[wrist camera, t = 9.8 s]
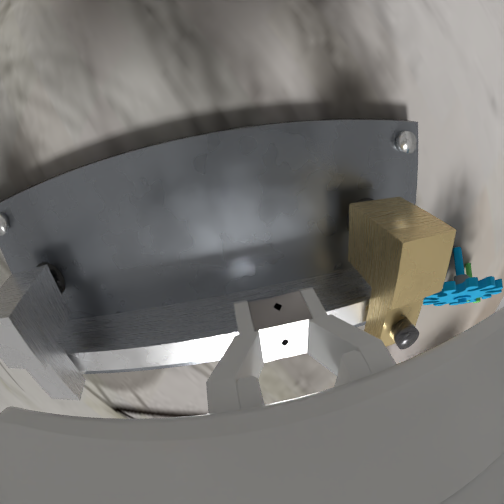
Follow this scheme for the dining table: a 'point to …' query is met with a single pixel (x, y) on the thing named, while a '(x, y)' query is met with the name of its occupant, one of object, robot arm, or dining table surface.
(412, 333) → the block
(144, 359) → the trammel bar
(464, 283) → the gear
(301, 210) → the bolt plate
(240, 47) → the dining table surface
